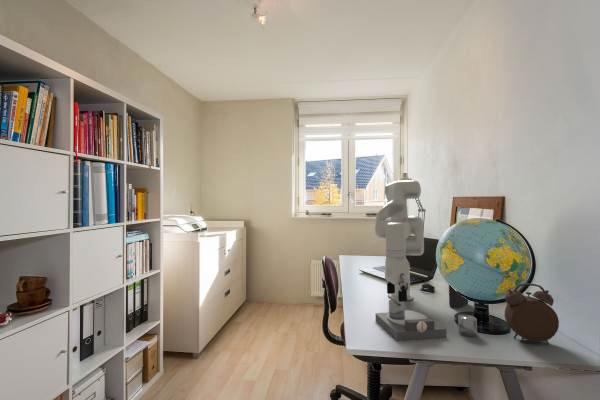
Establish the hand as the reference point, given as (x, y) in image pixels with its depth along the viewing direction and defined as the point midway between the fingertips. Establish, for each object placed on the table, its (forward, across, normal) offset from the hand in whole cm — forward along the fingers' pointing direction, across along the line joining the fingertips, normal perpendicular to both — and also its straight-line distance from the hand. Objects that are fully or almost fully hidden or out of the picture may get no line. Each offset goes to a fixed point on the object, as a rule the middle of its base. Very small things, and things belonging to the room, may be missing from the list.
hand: (396, 297), depth 116 cm
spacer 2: (+12, +10, +23) cm, 27 cm away
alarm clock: (+12, +19, +40) cm, 46 cm away
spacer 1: (+8, +1, 0) cm, 8 cm away
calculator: (+13, -19, +41) cm, 47 cm away
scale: (+12, +2, +4) cm, 12 cm away
